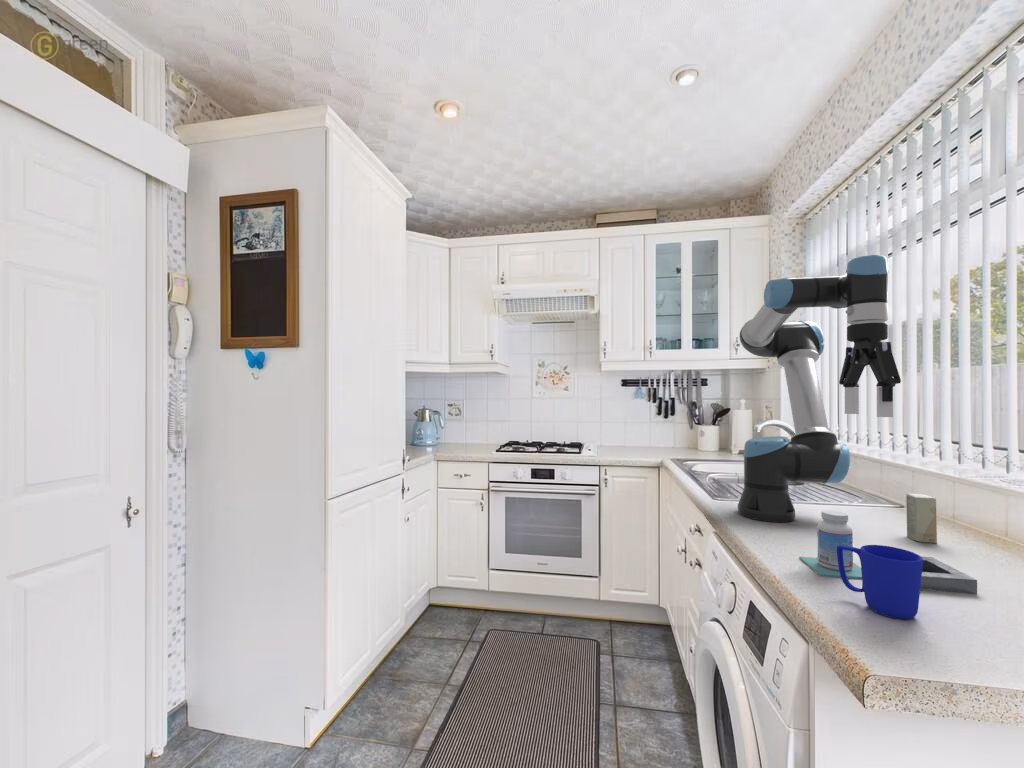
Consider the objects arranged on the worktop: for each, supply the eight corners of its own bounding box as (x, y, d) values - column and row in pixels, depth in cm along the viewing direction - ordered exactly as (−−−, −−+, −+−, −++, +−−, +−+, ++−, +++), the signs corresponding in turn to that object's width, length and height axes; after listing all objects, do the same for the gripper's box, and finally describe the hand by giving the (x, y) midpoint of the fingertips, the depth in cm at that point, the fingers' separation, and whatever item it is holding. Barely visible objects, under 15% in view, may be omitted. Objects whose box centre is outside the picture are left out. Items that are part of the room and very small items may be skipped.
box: (937, 543, 114) (937, 498, 114) (916, 541, 115) (916, 497, 115) (926, 537, 119) (926, 494, 119) (905, 535, 120) (905, 492, 120)
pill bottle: (858, 573, 94) (858, 517, 94) (825, 570, 95) (825, 515, 95) (843, 562, 100) (843, 509, 100) (812, 559, 101) (812, 508, 101)
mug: (847, 589, 87) (847, 535, 87) (931, 615, 77) (930, 555, 77) (826, 599, 83) (826, 543, 83) (912, 629, 73) (912, 565, 73)
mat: (799, 558, 103) (799, 556, 103) (849, 561, 101) (849, 559, 101) (819, 576, 93) (819, 574, 93) (876, 580, 92) (876, 578, 92)
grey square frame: (867, 564, 100) (867, 552, 100) (931, 569, 98) (931, 557, 98) (903, 587, 88) (903, 574, 88) (977, 593, 86) (977, 580, 86)
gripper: (823, 330, 120) (823, 412, 120) (880, 315, 96) (880, 418, 96) (856, 330, 119) (856, 412, 119) (922, 314, 95) (922, 418, 94)
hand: (867, 415), depth 107 cm, fingers open, 13 cm apart
